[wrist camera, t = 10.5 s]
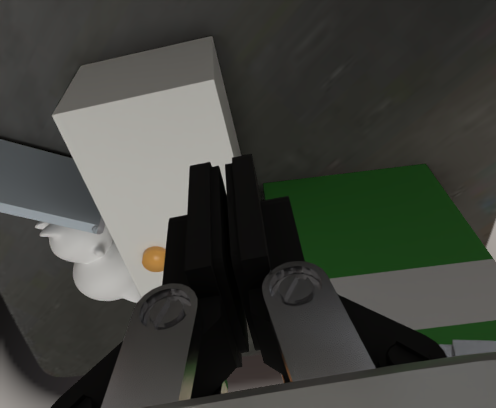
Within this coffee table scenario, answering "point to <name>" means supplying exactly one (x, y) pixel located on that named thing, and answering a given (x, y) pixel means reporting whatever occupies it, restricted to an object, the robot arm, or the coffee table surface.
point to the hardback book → (397, 249)
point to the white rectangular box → (147, 142)
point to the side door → (46, 189)
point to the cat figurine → (92, 262)
